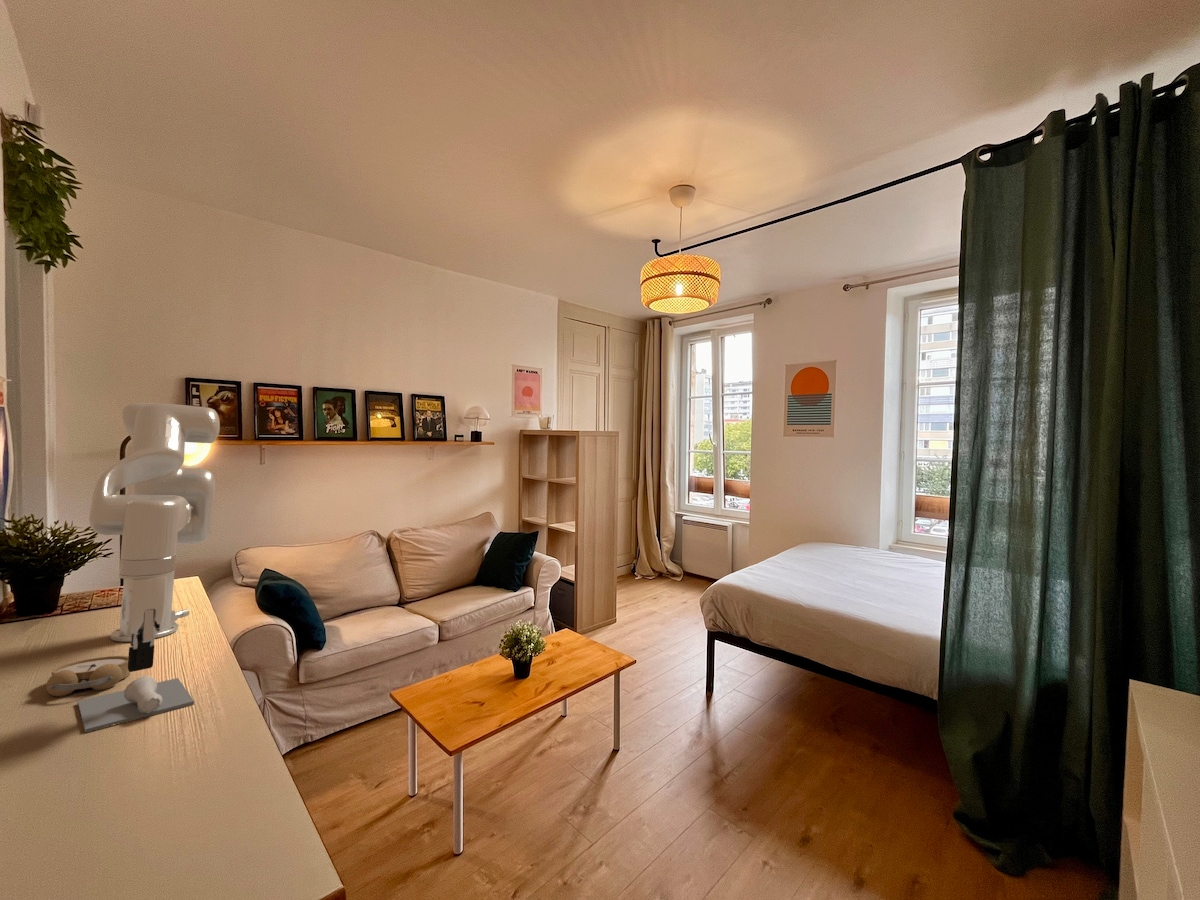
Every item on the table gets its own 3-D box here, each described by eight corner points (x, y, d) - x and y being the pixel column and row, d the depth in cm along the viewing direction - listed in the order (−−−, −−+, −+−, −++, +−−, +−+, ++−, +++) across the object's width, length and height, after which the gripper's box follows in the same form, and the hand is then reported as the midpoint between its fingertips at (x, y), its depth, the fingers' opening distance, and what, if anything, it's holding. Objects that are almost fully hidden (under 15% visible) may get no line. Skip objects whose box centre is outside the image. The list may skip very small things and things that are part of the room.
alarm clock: (137, 652, 107) (122, 663, 95) (134, 676, 106) (118, 691, 94) (62, 661, 101) (36, 675, 89) (59, 687, 100) (32, 704, 88)
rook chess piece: (116, 698, 88) (127, 716, 84) (135, 672, 90) (147, 689, 85) (143, 702, 91) (155, 721, 87) (161, 678, 93) (174, 695, 89)
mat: (77, 704, 90) (77, 700, 90) (177, 680, 100) (177, 677, 100) (84, 733, 81) (85, 729, 81) (193, 704, 91) (194, 701, 91)
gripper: (114, 562, 92) (105, 662, 91) (126, 576, 83) (117, 688, 82) (166, 558, 98) (159, 652, 97) (183, 570, 88) (175, 675, 88)
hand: (140, 668), depth 90 cm, fingers closed
